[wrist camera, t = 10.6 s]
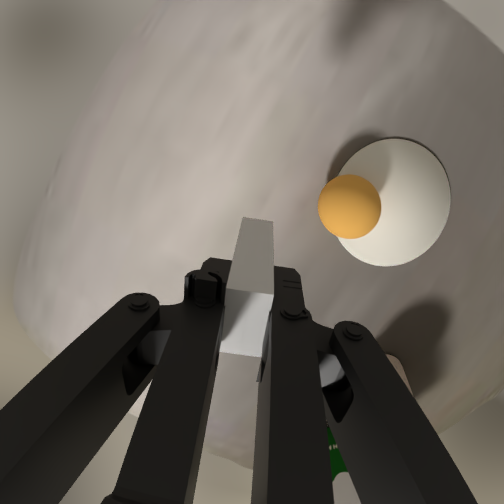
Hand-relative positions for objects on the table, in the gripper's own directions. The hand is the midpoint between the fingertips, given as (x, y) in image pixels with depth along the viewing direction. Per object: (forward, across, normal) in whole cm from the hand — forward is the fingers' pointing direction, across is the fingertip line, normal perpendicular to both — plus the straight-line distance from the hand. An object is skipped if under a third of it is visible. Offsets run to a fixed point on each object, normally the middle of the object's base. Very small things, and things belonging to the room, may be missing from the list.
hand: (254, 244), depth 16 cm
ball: (+11, -8, 0) cm, 14 cm away
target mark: (+14, -13, 0) cm, 19 cm away
